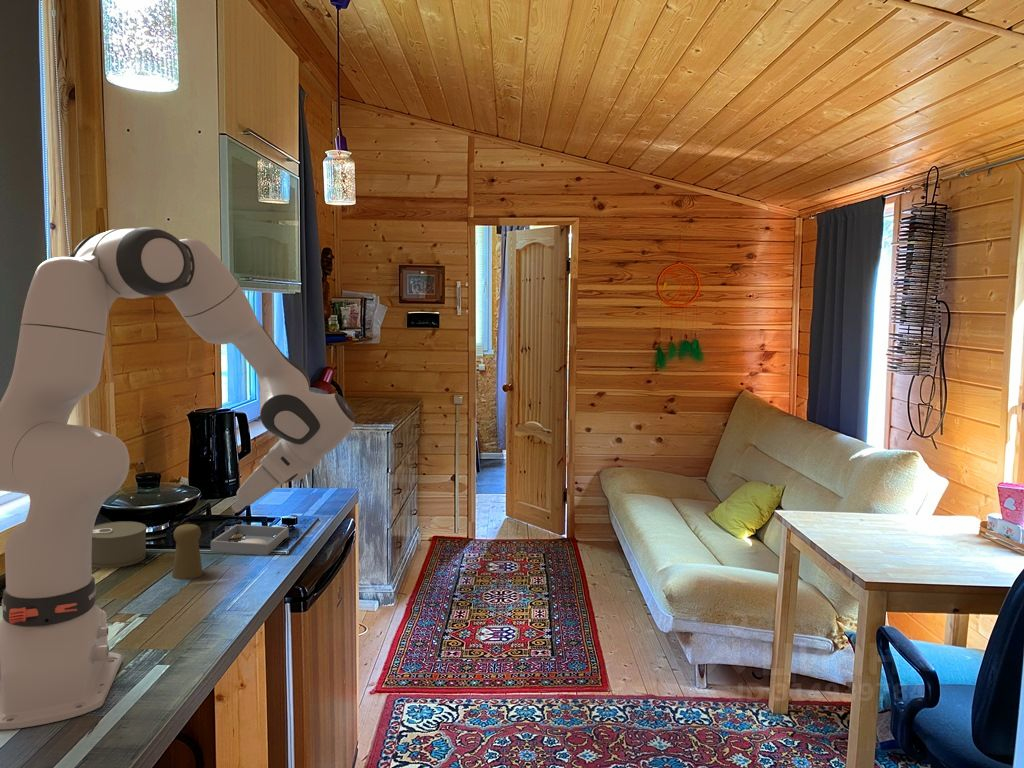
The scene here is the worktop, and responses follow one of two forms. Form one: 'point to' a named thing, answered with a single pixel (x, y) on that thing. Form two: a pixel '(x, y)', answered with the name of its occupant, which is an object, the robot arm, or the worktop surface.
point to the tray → (251, 533)
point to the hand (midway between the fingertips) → (245, 502)
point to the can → (118, 544)
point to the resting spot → (254, 541)
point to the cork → (187, 552)
